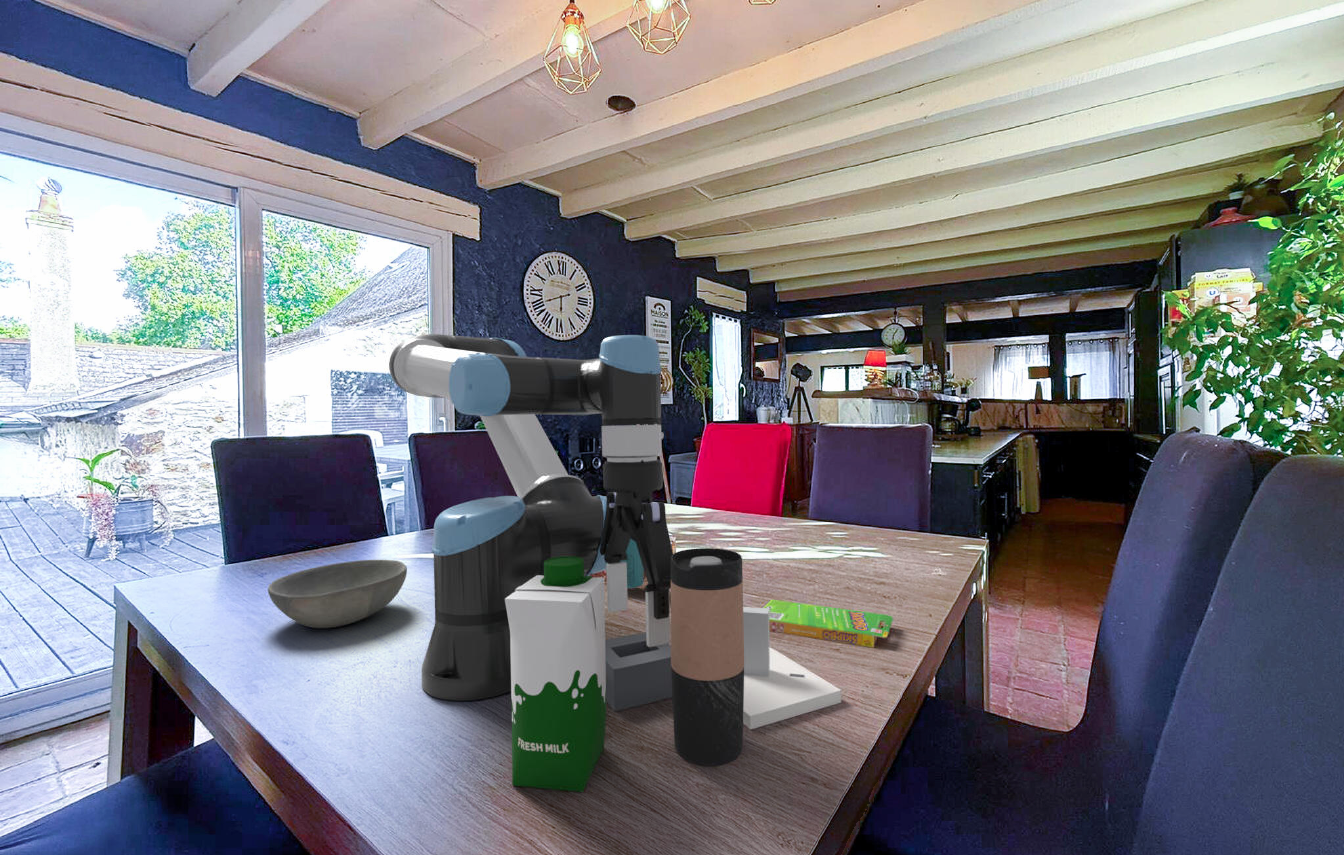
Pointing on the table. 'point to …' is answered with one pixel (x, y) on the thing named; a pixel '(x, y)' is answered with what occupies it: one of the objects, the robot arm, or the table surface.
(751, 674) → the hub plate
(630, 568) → the beverage bottle
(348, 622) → the bowl
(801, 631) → the game box
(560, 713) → the milk carton
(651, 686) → the gray slotted box
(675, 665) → the travel mug
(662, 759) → the table surface
